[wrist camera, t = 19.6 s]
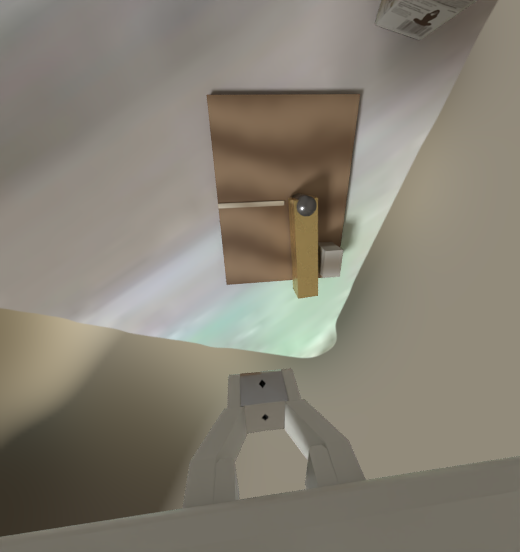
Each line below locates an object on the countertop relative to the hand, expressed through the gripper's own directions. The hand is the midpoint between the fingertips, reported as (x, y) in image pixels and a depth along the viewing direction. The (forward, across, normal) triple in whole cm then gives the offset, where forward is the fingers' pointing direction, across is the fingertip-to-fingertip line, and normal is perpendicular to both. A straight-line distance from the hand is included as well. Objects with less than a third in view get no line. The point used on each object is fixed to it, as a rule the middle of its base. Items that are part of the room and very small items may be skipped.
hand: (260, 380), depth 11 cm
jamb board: (+25, -6, -5) cm, 26 cm away
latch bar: (+24, -8, +1) cm, 25 cm away
